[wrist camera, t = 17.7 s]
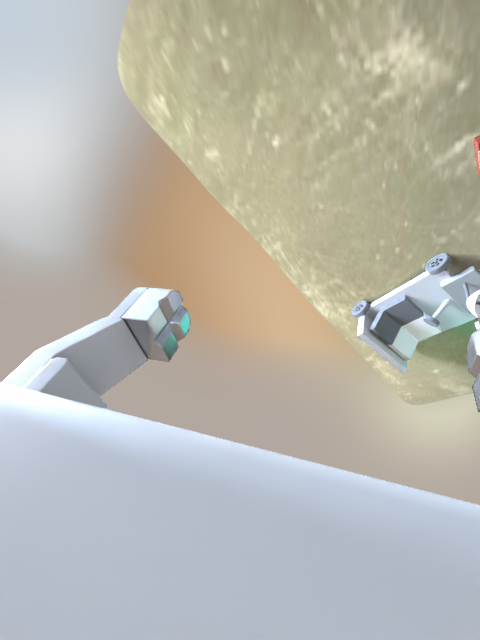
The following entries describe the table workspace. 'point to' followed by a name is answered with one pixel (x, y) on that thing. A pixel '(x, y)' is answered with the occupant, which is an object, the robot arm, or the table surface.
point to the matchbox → (477, 152)
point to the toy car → (419, 310)
